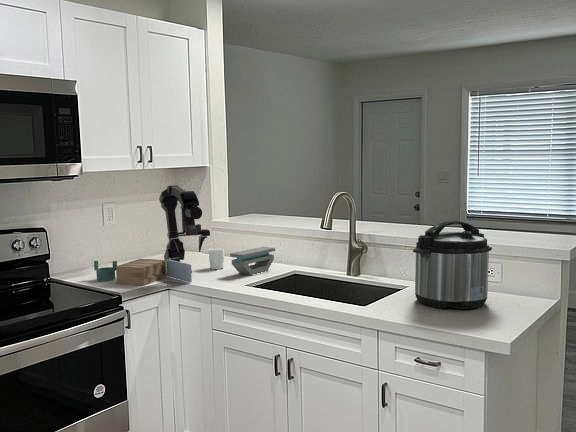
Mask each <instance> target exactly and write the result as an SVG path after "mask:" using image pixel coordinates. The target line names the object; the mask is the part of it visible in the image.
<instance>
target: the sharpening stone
mask: <svg viewBox="0 0 576 432" xmlns="http://www.w3.org/2000/svg"><path fill="white" fill-rule="evenodd" d="M272 252H276V247H270V246H269V247H268V246H260V247H254V248H250V249H245V250H239V251H235V252H231V253H229V257H230V258H235V259H232V260H231V265H232V267H234V269H235V270H236V271H237V272H238V274H240V273H242V275H246V274H249V275H248V276H254V275H253V274H256V275H258V274H257V273H260V274H262V273H261V272H263V273H266V272H265V271H267V272H268V271H269V269H270V267H271V265H272V263H273V262H274V260H275V255H274V254H270V253H272Z"/></svg>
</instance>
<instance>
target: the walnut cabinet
mask: <svg viewBox="0 0 576 432" xmlns="http://www.w3.org/2000/svg"><path fill="white" fill-rule="evenodd" d="M115 278H116V285H127V286H128V285H130V286H131V285H133V286H142V287H143V286H144V287H145V286H147V285H150V284H151V283H155V282H156V281H159V280H162V279H165V278H167V276H166V260H164V259H153V258H138V259H135V260H132V261H128V262H125V263H122V264H119V265H117V266H116V270H115Z"/></svg>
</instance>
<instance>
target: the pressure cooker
mask: <svg viewBox="0 0 576 432" xmlns="http://www.w3.org/2000/svg"><path fill="white" fill-rule="evenodd" d="M452 225H460V226H461V227H462V229H463V231H445V232H444V231H443V229H444V228H445V227H447V226H452ZM442 231H443V232H442ZM492 250H493V247H491V246H489V245H488V239H487V238H486V237H485V233H482V232H480V229H478V228H477V227H476V226H474V225H473V224H471V223H468V222H465V221H461V220H449V221H448V220H447V221H443V222H440V223H437V224H435V225H433V226H431V227H429V228H427V229H426V230H425V231H424V234H421V235H419V236H418V237H417V242H416V246H415V248H413V250H412V252H413V253H415V272H414V273H415V277H414V279H415V282H414V283H415V284H414V292H415V293H414V295H415V298H416V299H417V301H418V302H420V303H422V304H425V305H429V306H432V307H436V308H442V309H446V308H448V307H449V308H453V309H461V310H462V309H463V310H467V309H476V308H480V307H482V306H484V305H485V303H486V302H487V300H488V291H489V290H488V289H489V285H488V284H489V263H490V262H489V261H490V260H489V259H490V257H489V256H490V255H489V254H490V252H491V251H492Z"/></svg>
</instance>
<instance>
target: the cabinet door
mask: <svg viewBox="0 0 576 432" xmlns="http://www.w3.org/2000/svg"><path fill="white" fill-rule="evenodd" d="M192 274H193V270H192V264H190V263H186V262H181V261H180V262H178V261H173V260H169V259H166V277H168V278H172V279H176V280H179V281H183V282H187V283H192V278H193V277H192V276H193V275H192Z"/></svg>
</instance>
